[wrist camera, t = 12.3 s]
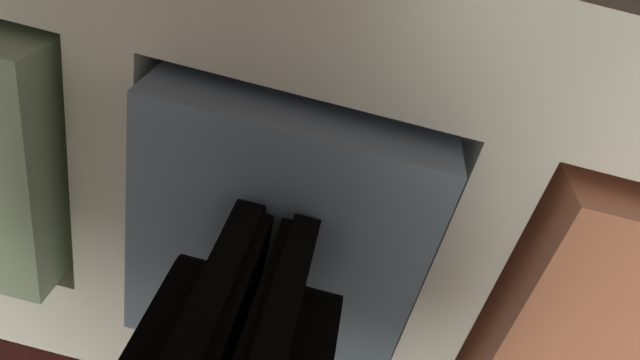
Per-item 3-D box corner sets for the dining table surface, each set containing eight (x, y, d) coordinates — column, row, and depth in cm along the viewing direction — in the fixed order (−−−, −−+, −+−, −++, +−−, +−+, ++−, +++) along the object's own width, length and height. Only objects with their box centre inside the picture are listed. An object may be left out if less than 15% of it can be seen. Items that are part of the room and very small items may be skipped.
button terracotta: (549, 140, 11) (582, 207, 9) (831, 212, 11) (928, 296, 9) (452, 332, 14) (459, 414, 12) (670, 388, 14) (715, 481, 12)
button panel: (-209, -229, 12) (-456, -261, 8) (947, 61, 12) (1168, 149, 8) (-96, 203, 18) (-210, 283, 15) (649, 397, 18) (704, 523, 15)
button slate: (179, 45, 11) (126, 90, 9) (456, 116, 11) (467, 178, 9) (165, 257, 15) (124, 326, 12) (380, 313, 14) (375, 392, 12)
